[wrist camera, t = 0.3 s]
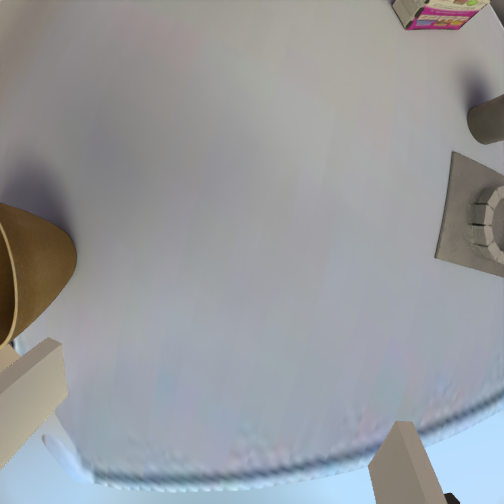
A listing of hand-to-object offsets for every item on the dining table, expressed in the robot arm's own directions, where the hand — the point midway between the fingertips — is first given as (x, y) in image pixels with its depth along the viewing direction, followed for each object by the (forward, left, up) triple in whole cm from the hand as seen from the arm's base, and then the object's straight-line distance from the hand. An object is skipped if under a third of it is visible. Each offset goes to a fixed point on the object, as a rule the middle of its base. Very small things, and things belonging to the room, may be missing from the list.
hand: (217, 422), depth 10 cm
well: (-14, +33, -26) cm, 44 cm away
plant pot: (+3, -25, -26) cm, 37 cm away
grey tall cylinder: (-27, +28, -26) cm, 47 cm away
